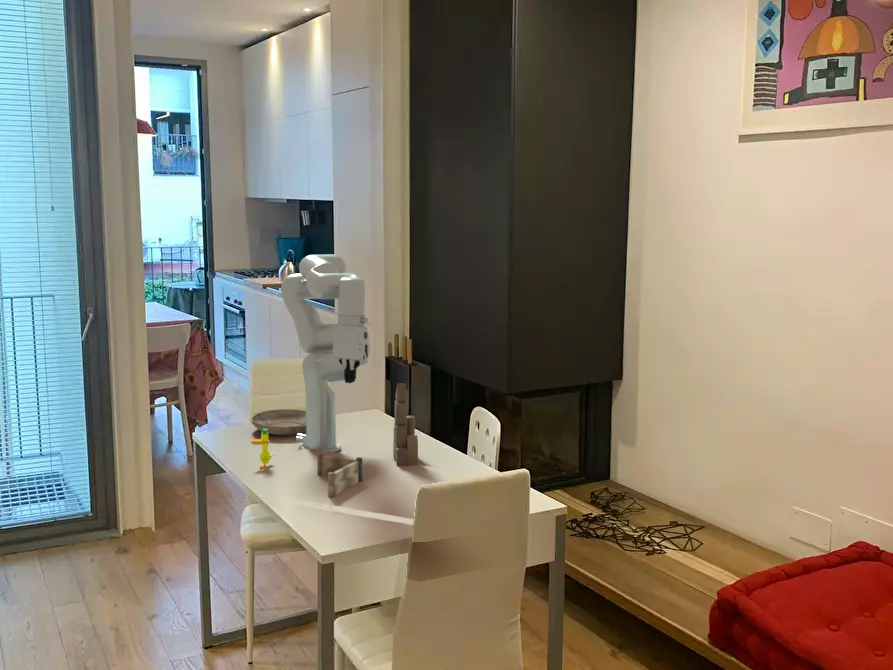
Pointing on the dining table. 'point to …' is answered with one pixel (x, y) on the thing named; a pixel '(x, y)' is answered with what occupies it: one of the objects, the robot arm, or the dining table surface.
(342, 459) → the fence fixed
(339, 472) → the fence gate
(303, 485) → the dining table surface
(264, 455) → the toy figure
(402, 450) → the wooden toy
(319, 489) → the dining table surface
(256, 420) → the ceramic bowl
